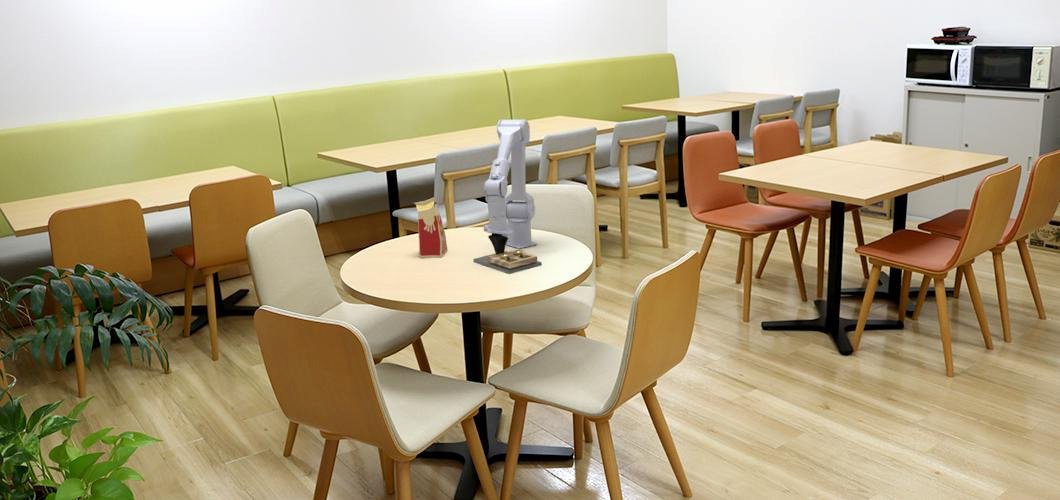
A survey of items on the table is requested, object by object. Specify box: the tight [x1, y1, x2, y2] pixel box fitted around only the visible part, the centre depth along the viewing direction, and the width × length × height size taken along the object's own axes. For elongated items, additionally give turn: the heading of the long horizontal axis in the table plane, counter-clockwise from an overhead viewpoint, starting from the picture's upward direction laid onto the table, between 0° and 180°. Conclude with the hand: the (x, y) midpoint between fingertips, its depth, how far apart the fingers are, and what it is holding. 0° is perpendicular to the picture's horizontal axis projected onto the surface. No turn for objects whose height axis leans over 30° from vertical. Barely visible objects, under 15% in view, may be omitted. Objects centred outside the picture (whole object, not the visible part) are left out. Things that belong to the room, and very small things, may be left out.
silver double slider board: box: [472, 249, 543, 275], centre depth 293 cm, size 20×13×4 cm, turn 37°
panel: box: [488, 249, 538, 269], centre depth 290 cm, size 12×11×2 cm
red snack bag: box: [413, 196, 448, 259], centre depth 307 cm, size 9×9×20 cm
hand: (500, 255), depth 296 cm, fingers closed
